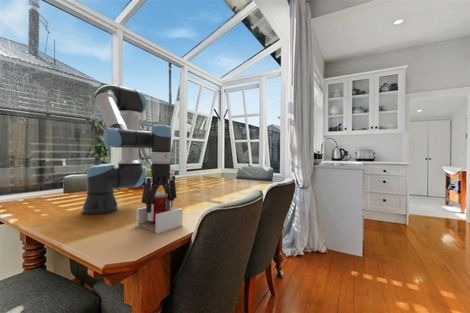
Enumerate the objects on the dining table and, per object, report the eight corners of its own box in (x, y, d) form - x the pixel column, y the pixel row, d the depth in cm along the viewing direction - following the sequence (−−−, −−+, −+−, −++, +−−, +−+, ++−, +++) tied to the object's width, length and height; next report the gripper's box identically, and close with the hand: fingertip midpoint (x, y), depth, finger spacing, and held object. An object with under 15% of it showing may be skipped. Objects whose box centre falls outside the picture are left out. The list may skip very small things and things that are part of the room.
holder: (136, 225, 90) (136, 208, 90) (161, 219, 100) (161, 203, 100) (157, 233, 82) (158, 214, 82) (182, 225, 92) (182, 208, 92)
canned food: (161, 223, 87) (161, 196, 87) (143, 222, 89) (143, 195, 89) (171, 218, 94) (171, 192, 94) (154, 217, 96) (154, 192, 96)
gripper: (143, 163, 80) (142, 226, 80) (186, 162, 97) (185, 214, 97) (131, 163, 84) (130, 222, 84) (174, 162, 101) (173, 211, 101)
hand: (159, 217), depth 91 cm, fingers open, 8 cm apart
